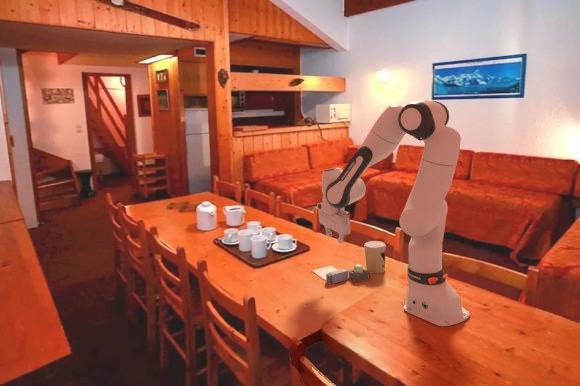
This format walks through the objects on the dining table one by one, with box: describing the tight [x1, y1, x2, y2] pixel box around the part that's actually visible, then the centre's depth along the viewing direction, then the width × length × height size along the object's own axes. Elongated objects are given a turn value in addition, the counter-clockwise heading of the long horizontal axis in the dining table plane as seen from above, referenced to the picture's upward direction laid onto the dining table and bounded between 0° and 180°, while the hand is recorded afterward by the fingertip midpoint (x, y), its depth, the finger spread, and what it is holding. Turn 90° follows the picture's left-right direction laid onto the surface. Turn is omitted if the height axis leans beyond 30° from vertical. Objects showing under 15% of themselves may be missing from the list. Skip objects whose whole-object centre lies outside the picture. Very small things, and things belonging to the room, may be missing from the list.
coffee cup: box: [363, 240, 387, 274], centre depth 176 cm, size 9×9×12 cm
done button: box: [353, 263, 364, 274], centre depth 170 cm, size 4×4×4 cm
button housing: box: [348, 268, 370, 283], centre depth 170 cm, size 6×6×3 cm
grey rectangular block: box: [325, 268, 349, 285], centre depth 169 cm, size 9×3×4 cm, turn 115°
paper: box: [311, 265, 338, 281], centre depth 178 cm, size 12×10×1 cm
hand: (334, 239), depth 166 cm, fingers open, 8 cm apart
